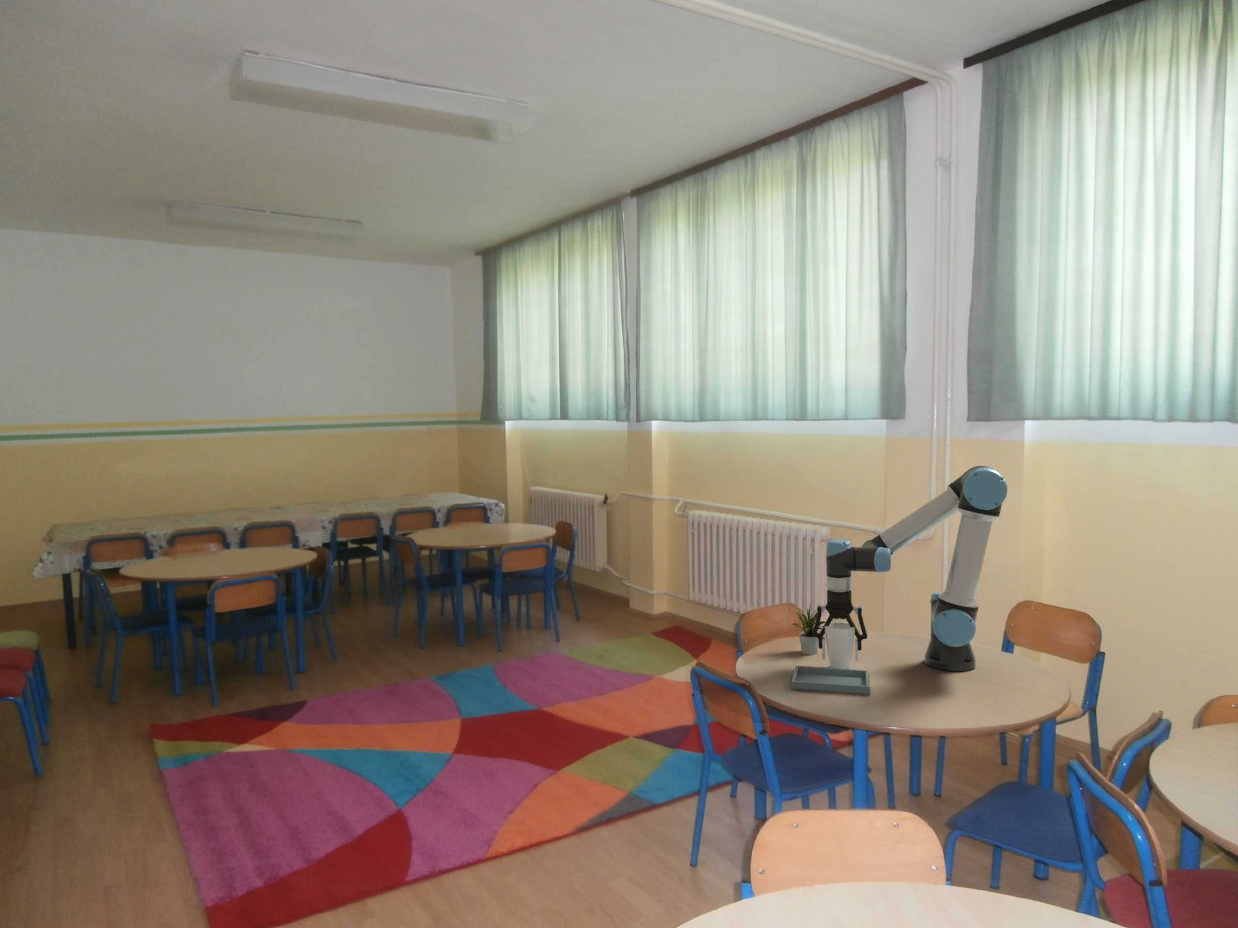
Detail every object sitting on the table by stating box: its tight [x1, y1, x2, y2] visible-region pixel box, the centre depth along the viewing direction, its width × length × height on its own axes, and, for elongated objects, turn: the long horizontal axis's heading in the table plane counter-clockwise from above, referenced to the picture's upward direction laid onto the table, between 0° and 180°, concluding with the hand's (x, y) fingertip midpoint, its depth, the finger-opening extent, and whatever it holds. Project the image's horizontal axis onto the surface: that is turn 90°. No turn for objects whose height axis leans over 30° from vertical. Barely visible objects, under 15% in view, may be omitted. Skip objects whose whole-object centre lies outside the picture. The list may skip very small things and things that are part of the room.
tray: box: [791, 665, 871, 696], centre depth 249 cm, size 22×16×2 cm
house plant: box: [789, 604, 827, 656], centre depth 281 cm, size 14×14×16 cm
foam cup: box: [824, 621, 855, 669], centre depth 264 cm, size 10×9×13 cm
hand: (840, 659), depth 264 cm, fingers closed on foam cup, 9 cm apart
